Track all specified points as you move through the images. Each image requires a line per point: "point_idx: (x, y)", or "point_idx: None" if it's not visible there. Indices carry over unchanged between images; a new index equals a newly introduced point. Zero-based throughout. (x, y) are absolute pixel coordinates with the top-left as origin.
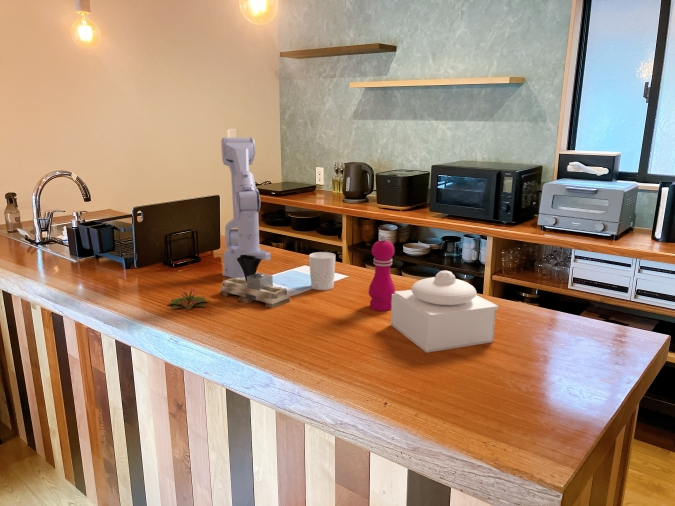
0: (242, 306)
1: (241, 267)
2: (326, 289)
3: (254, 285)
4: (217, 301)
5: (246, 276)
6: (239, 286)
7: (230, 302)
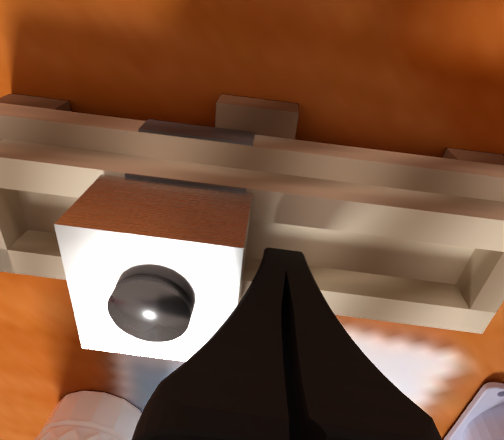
0: (199, 16)
1: (351, 342)
2: (60, 400)
3: (156, 195)
4: (458, 6)
5: (283, 273)
6: (341, 196)
7: (341, 45)
